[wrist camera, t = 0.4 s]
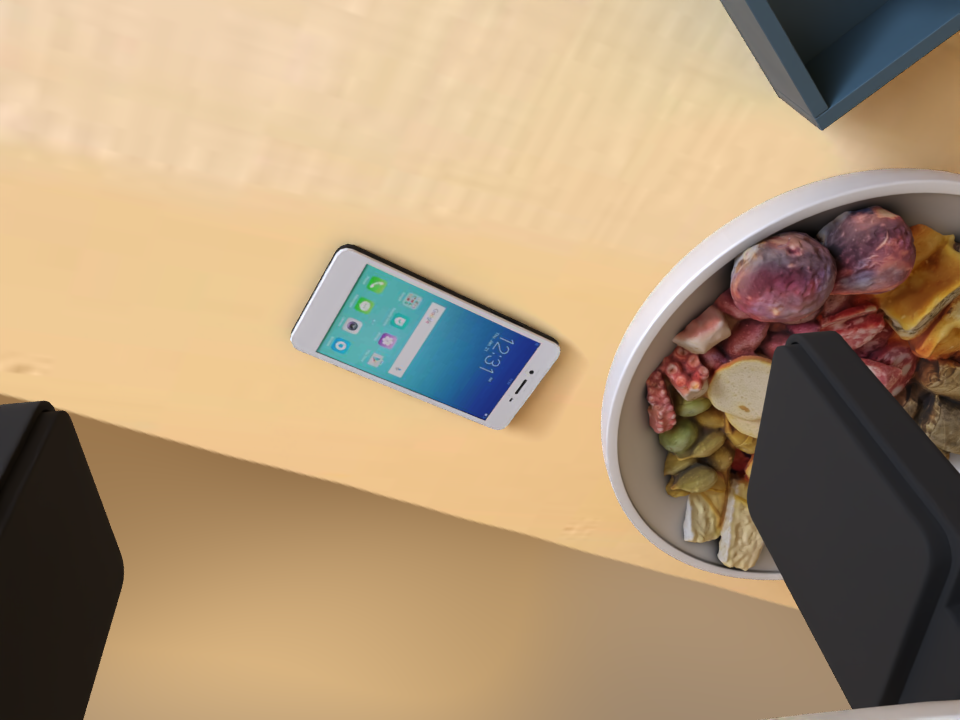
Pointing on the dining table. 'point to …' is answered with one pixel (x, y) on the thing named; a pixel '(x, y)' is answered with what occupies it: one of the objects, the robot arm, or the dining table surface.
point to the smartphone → (422, 339)
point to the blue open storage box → (839, 46)
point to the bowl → (768, 324)
